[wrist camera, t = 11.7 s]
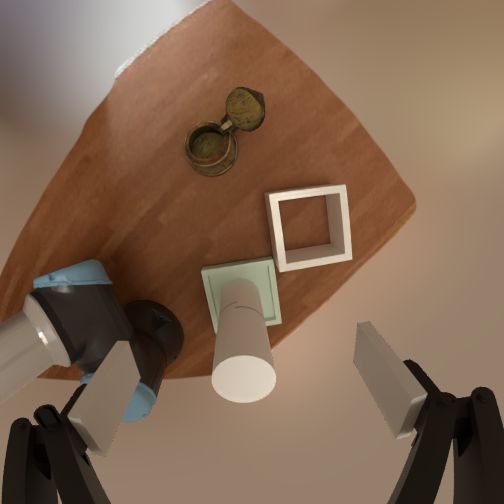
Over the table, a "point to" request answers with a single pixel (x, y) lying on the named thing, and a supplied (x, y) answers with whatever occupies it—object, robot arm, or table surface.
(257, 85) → the table surface
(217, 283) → the tray
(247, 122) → the wooden mug
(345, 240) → the hollow square frame
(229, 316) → the cylindrical container
